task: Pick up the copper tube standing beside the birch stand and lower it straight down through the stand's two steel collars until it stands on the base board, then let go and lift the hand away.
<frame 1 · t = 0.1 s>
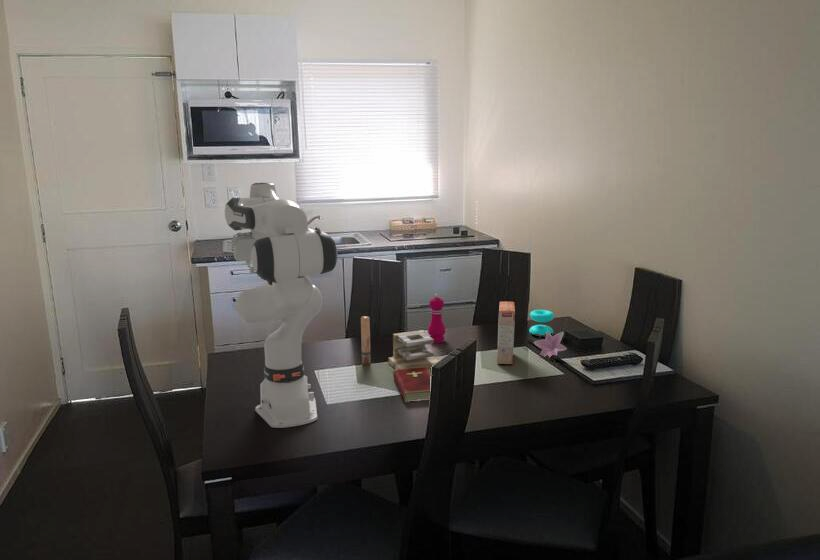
hand: (266, 271, 210), 39 cm above the table, tool pointing down, fingers open, 8 cm apart
cracker box: (505, 359, 237), on the table
donuts: (541, 335, 266), on the table
pepper mill: (436, 341, 259), on the table
hardcover book: (416, 390, 210), on the table
lily: (550, 357, 239), on the table
collar stand: (415, 365, 231), on the table
copper tube: (366, 363, 234), on the table
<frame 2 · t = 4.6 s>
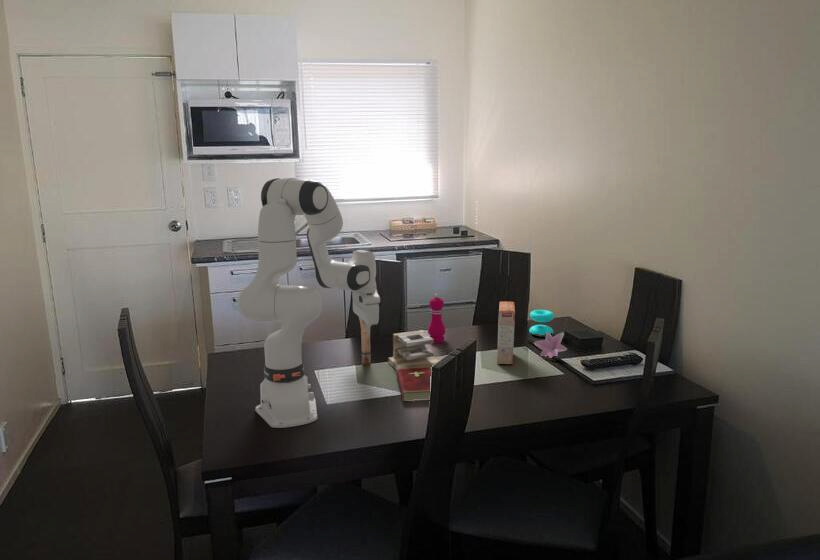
hand: (365, 330, 231), 13 cm above the table, tool pointing down, fingers closed on copper tube, 3 cm apart
copper tube: (366, 363, 234), on the table, touching gripper
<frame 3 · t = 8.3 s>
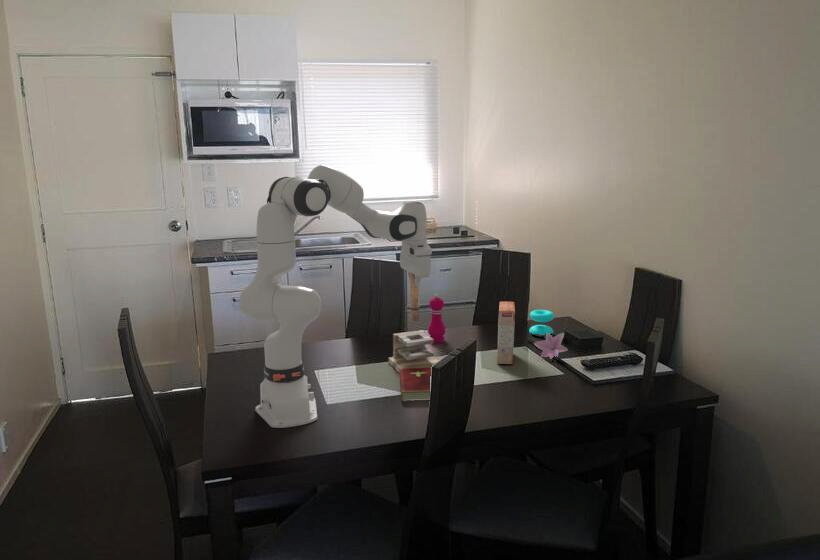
hand: (414, 284, 225), 31 cm above the table, tool pointing down, fingers closed on copper tube, 3 cm apart
copper tube: (414, 320, 228), point 17 cm above the table, touching gripper
when the fingers open (17 cm above the table, at t = 12.1 s): copper tube drops 1 cm, resting on collar stand.
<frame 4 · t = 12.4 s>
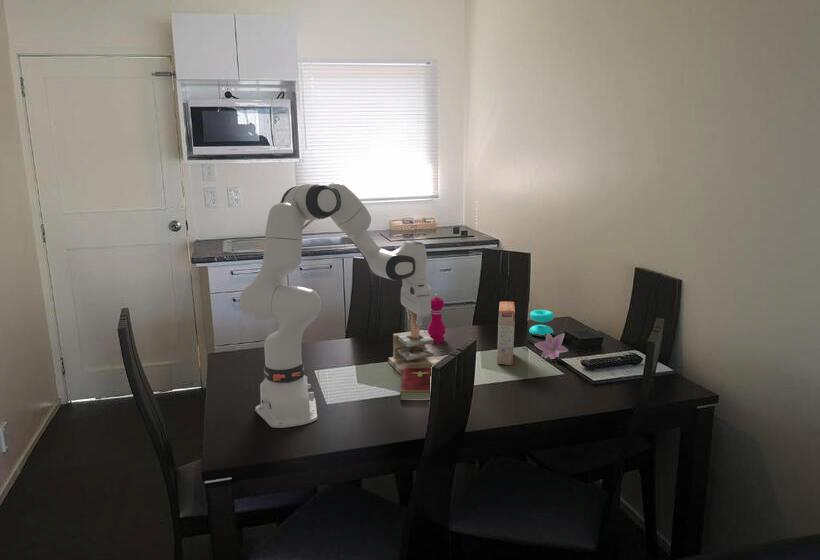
hand: (414, 322, 228), 17 cm above the table, tool pointing down, fingers open, 6 cm apart
copper tube: (415, 360, 231), point 2 cm above the table, touching collar stand
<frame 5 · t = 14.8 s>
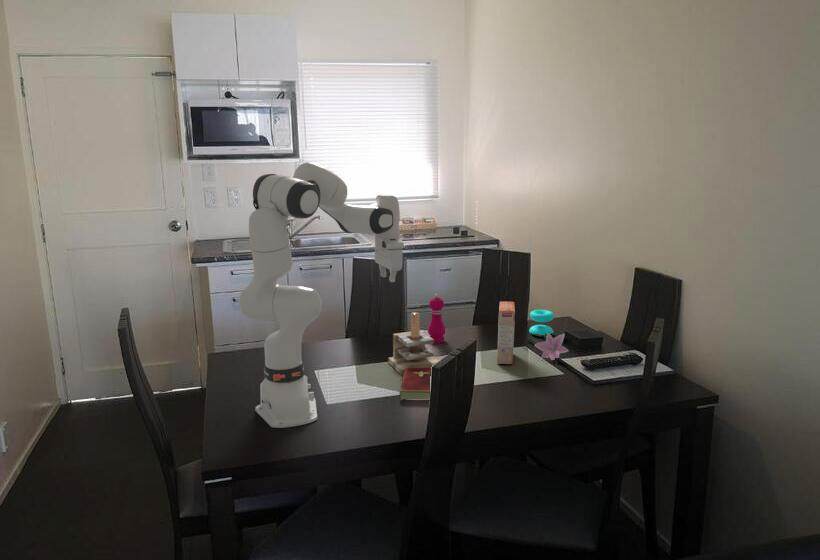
hand: (387, 279, 225), 33 cm above the table, tool pointing down, fingers open, 8 cm apart
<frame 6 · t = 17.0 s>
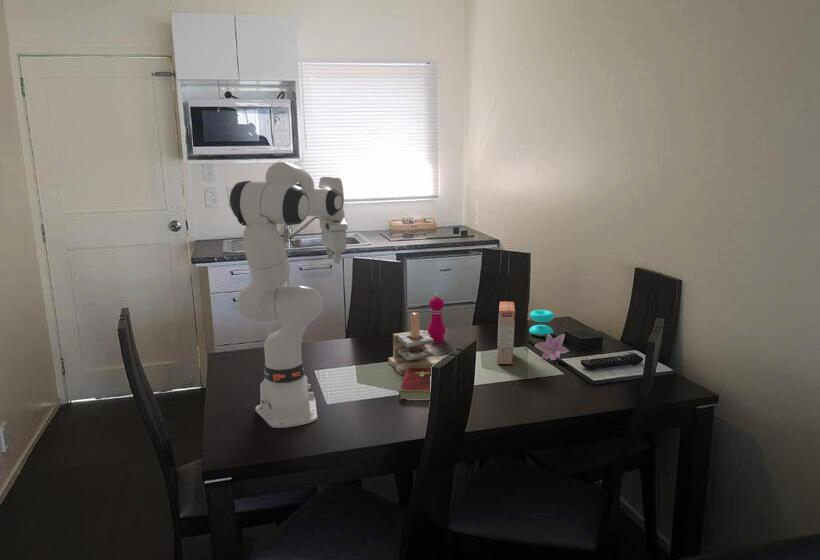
hand: (333, 261, 225), 39 cm above the table, tool pointing down, fingers open, 8 cm apart
at the end: copper tube 0.1 cm off-centre on the collar stand, point 2.0 cm above the collar stand's base; copper tube tilted 0°; the gripper is holding nothing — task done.
